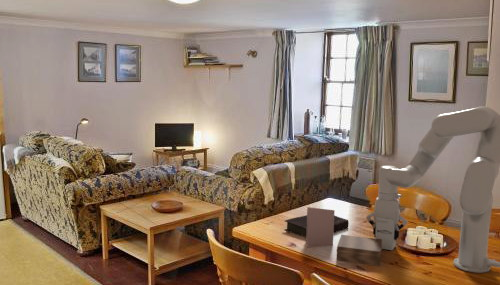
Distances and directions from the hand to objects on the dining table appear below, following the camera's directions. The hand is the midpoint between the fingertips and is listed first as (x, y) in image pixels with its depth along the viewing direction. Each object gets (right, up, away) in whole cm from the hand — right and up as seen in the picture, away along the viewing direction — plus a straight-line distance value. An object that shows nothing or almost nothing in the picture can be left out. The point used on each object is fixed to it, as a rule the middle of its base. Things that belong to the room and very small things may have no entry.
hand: (385, 237), depth 197 cm
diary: (-26, -1, +23) cm, 34 cm away
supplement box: (0, -4, +1) cm, 4 cm away
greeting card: (-28, -4, +2) cm, 28 cm away
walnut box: (-13, -6, -10) cm, 17 cm away
